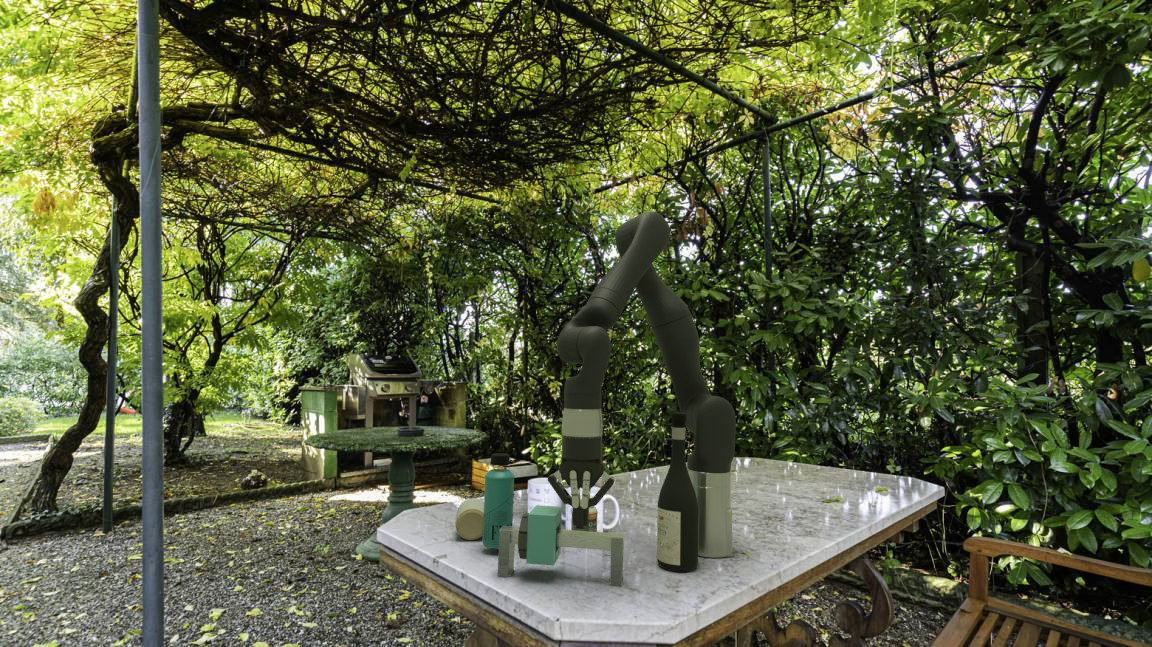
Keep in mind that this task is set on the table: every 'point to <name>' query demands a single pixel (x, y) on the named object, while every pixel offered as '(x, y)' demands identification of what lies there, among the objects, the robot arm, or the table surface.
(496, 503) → the beverage bottle
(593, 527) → the pill bottle
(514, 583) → the table surface
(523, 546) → the o ring
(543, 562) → the sleeve
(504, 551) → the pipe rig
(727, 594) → the table surface
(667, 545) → the wine bottle
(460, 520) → the beige cylinder
